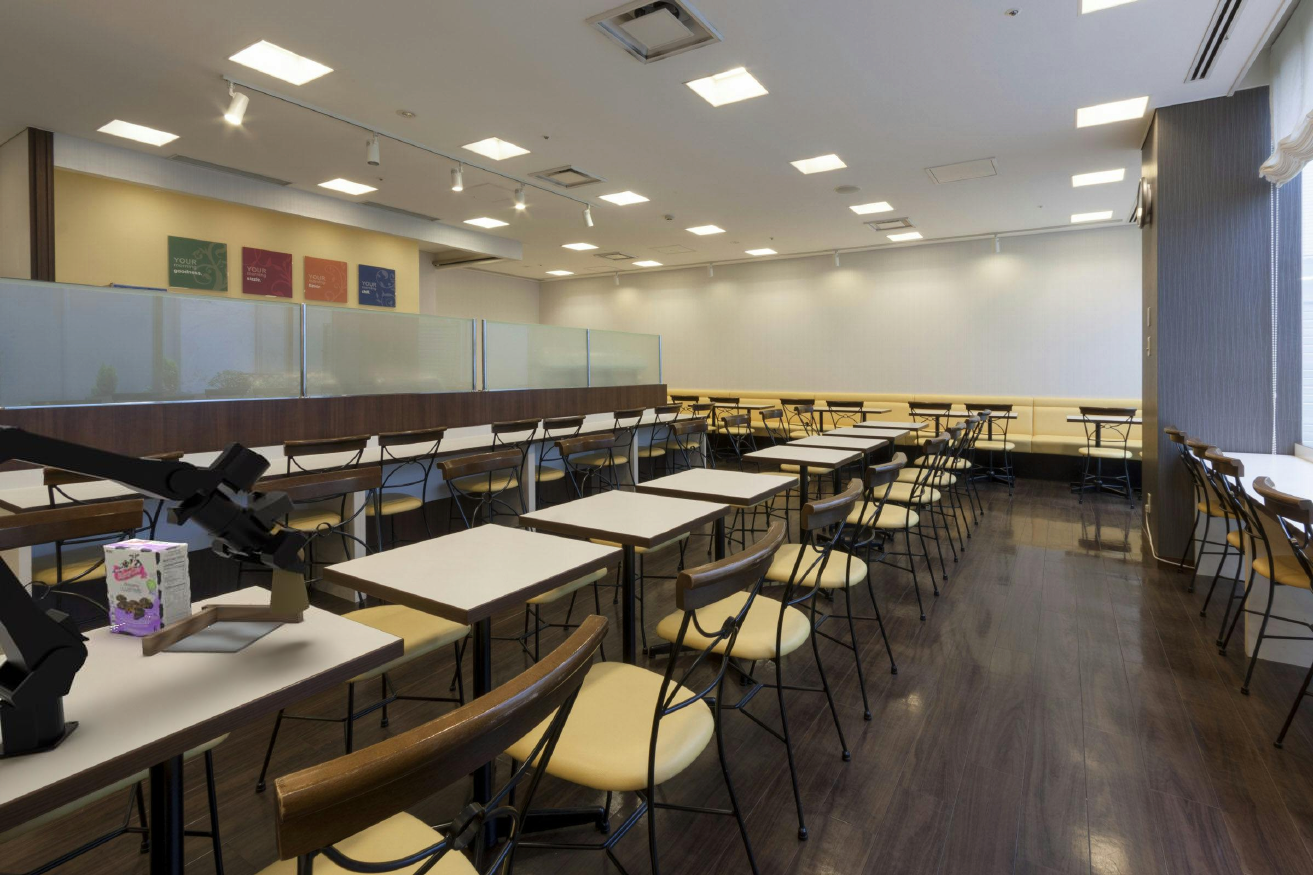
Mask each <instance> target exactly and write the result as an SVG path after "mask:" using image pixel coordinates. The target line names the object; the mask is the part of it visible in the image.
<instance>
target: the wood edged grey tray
mask: <svg viewBox="0 0 1313 875" xmlns="http://www.w3.org/2000/svg"><path fill="white" fill-rule="evenodd" d="M269 609H270V604H237V603H236V604H233V603H232V604H227V603H225V604H220V603H219V604H215V603H214V604H213V603H211V604H208V603H207V604H204V605H203V606H201V610H200V611H197V612H196V613H193V614H192V615H191V616H189V617H186V618H184V619H182V620H180V621H178V622H176V623H173V624H171V625H169V626H167V627H165V628H163V629H161V630H158V631H156V632H154V633H152V634H150V635H148V636H145V637H142V638H141V647H142V656H143V655H146V656H147V657H152V656H155V655H156V654H158V653H160V652H162V653H202V654H203V653H209V654H210V653H213V654H214V653H215V654H217V653H219V654H221V653H222V654H231V653H232V654H235V653H238V652H240V651H241V650H243V649H245V648H246V647H248V646H250V645H252V644H253V643H255V642H257V641H258V640H260V639H262V638H263V637H265V636H267V635H269V634H270V633H272V632H273V631H275V630H276V629H278V628H280V627H282V626H283V625H285V624H300V623H301V622H303V621H304V620H305V619H304V611H302V612H299V613H295V614H290V615H271V614H269ZM208 626H209V627H208Z"/></svg>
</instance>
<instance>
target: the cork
mask: <svg viewBox="0 0 1313 875" xmlns="http://www.w3.org/2000/svg"><path fill="white" fill-rule="evenodd" d="M298 555H299V557H300V558H301V560H302V561H303V562H304V560H305V550H304V549H303V547H302V548H301V549H300V550H299V552H298ZM272 570H273V571H272V582H271V591H270V602H269V605H270V609H269V614H271V615H290V614H295V613H299V612H302V611H303V612H304V611H307V610H308V609H309V608H310V601H309V597H308V592H307V587H306V581H305V577H304V574H299V573H294V572H289V571H284V570H279V569H274V568H272Z"/></svg>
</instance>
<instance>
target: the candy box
mask: <svg viewBox="0 0 1313 875" xmlns="http://www.w3.org/2000/svg"><path fill="white" fill-rule="evenodd" d="M188 545H189V544H188V543H186V542H181V543H180V542H167V541H158V540H148V539H139V538H132V539H128V540H127V539H126V540H121V541H118V542H115V543H109V544H105V545H104V544H103V547H102V548H103V549H102V550H103V558H104V569H105V571H104V572H105V583H106V591H107V592H106V593H107V595H106V596H107V603H108V604H107V605H108V618H109V630H110V629H112V630H110V632H111V633H115V634H117V633H118V634H124V635H130V636H135V637H137V636H138V637H142V638H143V637H145V636H148V635H150V634H152V633H154V632H156V631H158V630H161V629H163V628H165V627H167V626H169V625H171V624H173V623H176V622H178V621H180V620H182V619H184V618H186V617H189V616H191V615H193V614H192V613H193V612H192V597H191V596H192V595H191V594H192V592H191V581H190V580H191V579H190V578H191V577H190V563H189V562H190V560H189V547H188ZM149 616H150V617H149ZM123 623H125V624H123ZM120 624H122V625H120ZM114 625H119V626H115V627H112V628H110V626H114ZM116 627H118V628H116ZM114 628H115V629H114Z"/></svg>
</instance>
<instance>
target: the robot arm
mask: <svg viewBox="0 0 1313 875" xmlns="http://www.w3.org/2000/svg"><path fill="white" fill-rule="evenodd" d="M11 460H14V461H19V462H24V463H28V464H33V465H37V466H43V467H46V468H49V469H50V468H51V469H54V470H55V469H57V470H60V471H66V472H71V473H74V474H79V475H85V476H89V477H93V478H97V479H98V478H99V479H103V480H107V481H109V482H112V483H115V484H118V485H120V486H122V487H124V488H127V489H129V490H130V491H131V490H132V491H134V492H137V493H139V494H142V495H144V496H147V497H150V498H153V499H160V500H161V499H162V500H169V501H174V502H178V504H176V505H174V506H167V507H166V511H167V515H166V524H168V525H172V526H178V527H182V526H183V525H185V524H186V522H187V521H188V520H189V521H190V522H192V523H193V524H195V525H197V527H199V528H201V529H202V530H204V531H205V532H207V534H206V536H207V537H209V538H210V539H212V542H211V551H213V553H216V555H218V556H220V557H224V558H228V559H229V558H230V557H231V556H232V553H233V554H235V555H234V556H233V560H235V561H237V562H238V561H239V562H243V563H248V564H251V565H253V564H254V565H257V566H262V567H266V568H269V569H270V568H271V569H279V570H284V571H289V572H294V573H299V574H303V575H304V574H305V573H306V571H307V570H308V568H307V566H306V565H305V562H304V560H303V561H302V560H301V558H300V557H299V555H298V552H299V550H300V549H301V548H302V549H303V547H304V545H305V544H306V543H307V541H308V540H309V536H308V535H307V534H305V533H304V532H303V531H302V530H301V529H295V528H289V527H285V528H281V529H278V530H277V532H276V533H275V534H273V533H270V532H272V531H273V530H274V529H275V528H276V527H277V523H275V521H277V520H279V519H280V518H282V517H284V516H285V515H286V514H288V513H292V512H293V511H295V509H296V506H295V505H294V502H293V501H292V499H291V497H290V495H289V493H288V492H287V491H281V490H273V491H266V493H264V492H263V491H261V490H256V489H254V490H253V491H251V489H252V488H253V487H254V486H255V485H256V483H257V482H258V481H259V480H260V479H261V477H262V476H264V474H265V473H266V472H267V470H269V468H270V467H271V463H270V461H269V460H268V459H267V457H265V456H263V454H261V453H257V452H256V451H254V450H252V449H250V448H248V447H246V446H244V445H242V444H241V443H240V442H237V441H235V442H234V441H230V442H229V443H228V444H227V445H226V446H225V447H224V448H223V450H222V452H221V453H220V454H219V455H218V456H217V457H216V458H215V459H214V461H212V462H211V464H210V465H209V466H202V465H201V466H198V465H195V464H193V463H190V462H188V461H181V460H172V459H171V460H170V459H160V458H159V459H158V458H152V457H151V458H149V457H138V456H129V455H125V454H121V453H116V452H113V451H109V450H105V449H100V448H96V447H93V446H89V445H84V444H80V443H76V442H72V441H69V440H68V441H67V440H64V439H60V438H57V437H52V436H48V435H43V434H39V433H35V432H32V431H29V430H26V429H24V428H22V427H20V426H15V425H14V426H13V425H2V424H0V465H1V464H3V463H6V462H9V461H11ZM249 491H251V492H250V493H248V492H249ZM227 494H228V495H230V496H233V497H234V496H235V497H236V496H237V495H238V494H243V495H246V499H247V500H246V501H247V504H246V507H245V506H244V507H243V506H241V505H240V504H239V503H238V502H236V501H235V500H234V499H233V498H231V497H229V496H228V495H227ZM89 641H90V638H89V637H88V636H85V635H84V634H82V633H81V632H80V630H79V628H78V625H77V623H76V621H75V619H74V618H73V616H72V615H69V614H68V613H65V612H62V611H60V610H57V609H54V608H50V609H48V610H47V611H43V609H42V608H40V606H39V605H38V604H37V602H36V601H35V600H34V598H33V597H32V595H31V594H30V593H29V592H28V589H26V587H25V586H24V584H22V582H21V581H20V580H19V578H18V576H17V575H15V572H13V570H12V569H11V568H10V566H9V565H8V564H7V562H6V561H5V559H3V557H2V556H1V555H0V647H1V649H2V650H3V653H4V655H5V657H6V660H4V661H3V662H2V664H1V665H0V734H1V743H0V759H3V758H7V757H15V756H20V755H26V754H33V753H39V752H45V751H46V752H47V751H50V750H53V749H55V748H56V747H58V745H59V744H60V743H62V742H63V740H65V739H66V738H67V736H69V735H70V734H71V733H72V732H73V731H74V730H75V729H77V727H78V726H79V725H80V724H79V721H78V720H73V721H67V722H65V720H66V719H65V710H64V709H65V708H64V700H63V699H64V698H63V697H65V696H67V695H69V693H70V692H71V688H72V686H73V682H74V680H75V677H76V674H77V673H78V672H79V671H80V670H81V669H82V667H83V666H84V665H85V662H86V660H87V658H88V657H89V650H88V647H87V645H86V643H85V642H89Z"/></svg>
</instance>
